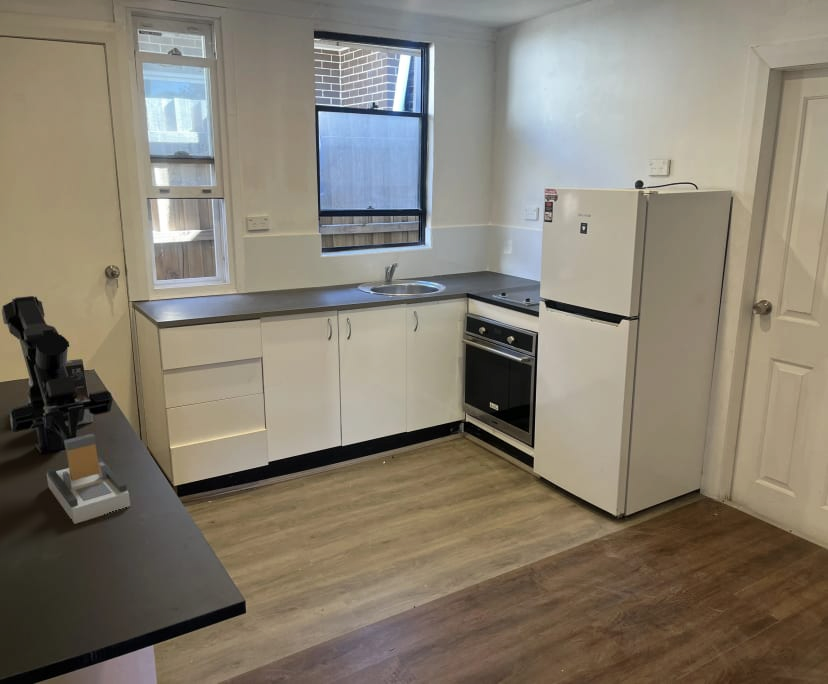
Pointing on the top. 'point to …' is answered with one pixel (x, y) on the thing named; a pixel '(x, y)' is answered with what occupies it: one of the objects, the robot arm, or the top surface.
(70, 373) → the coffee box
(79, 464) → the lever
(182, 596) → the top surface
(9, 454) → the top surface
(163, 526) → the top surface
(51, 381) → the robot arm
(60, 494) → the tray
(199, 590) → the top surface
